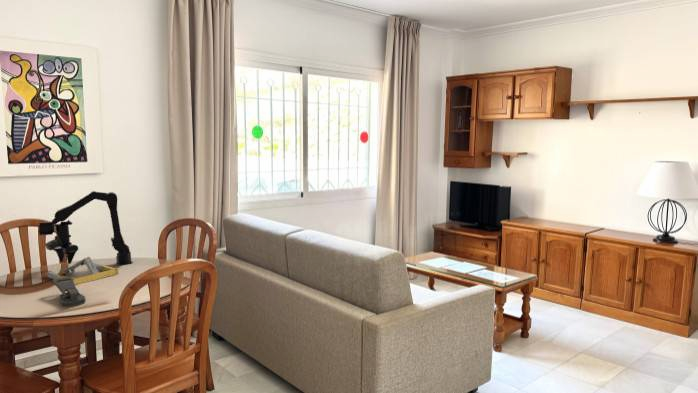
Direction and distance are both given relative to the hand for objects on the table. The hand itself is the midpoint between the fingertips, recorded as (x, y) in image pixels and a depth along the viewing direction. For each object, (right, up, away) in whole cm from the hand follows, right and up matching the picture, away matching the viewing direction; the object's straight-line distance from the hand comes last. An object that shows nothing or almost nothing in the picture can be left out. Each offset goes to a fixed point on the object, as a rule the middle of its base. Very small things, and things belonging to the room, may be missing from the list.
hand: (65, 262), depth 257 cm
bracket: (+12, -6, -10) cm, 16 cm away
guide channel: (+15, -5, -10) cm, 19 cm away
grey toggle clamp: (+28, -10, -46) cm, 55 cm away
